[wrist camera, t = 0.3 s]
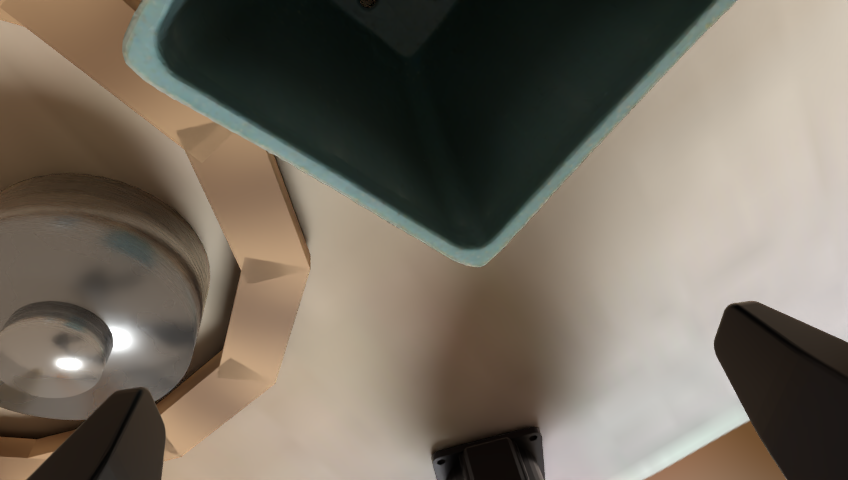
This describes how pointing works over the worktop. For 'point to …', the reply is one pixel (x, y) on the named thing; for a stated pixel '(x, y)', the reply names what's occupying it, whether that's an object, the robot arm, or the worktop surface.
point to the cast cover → (93, 294)
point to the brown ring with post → (233, 207)
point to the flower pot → (420, 94)
